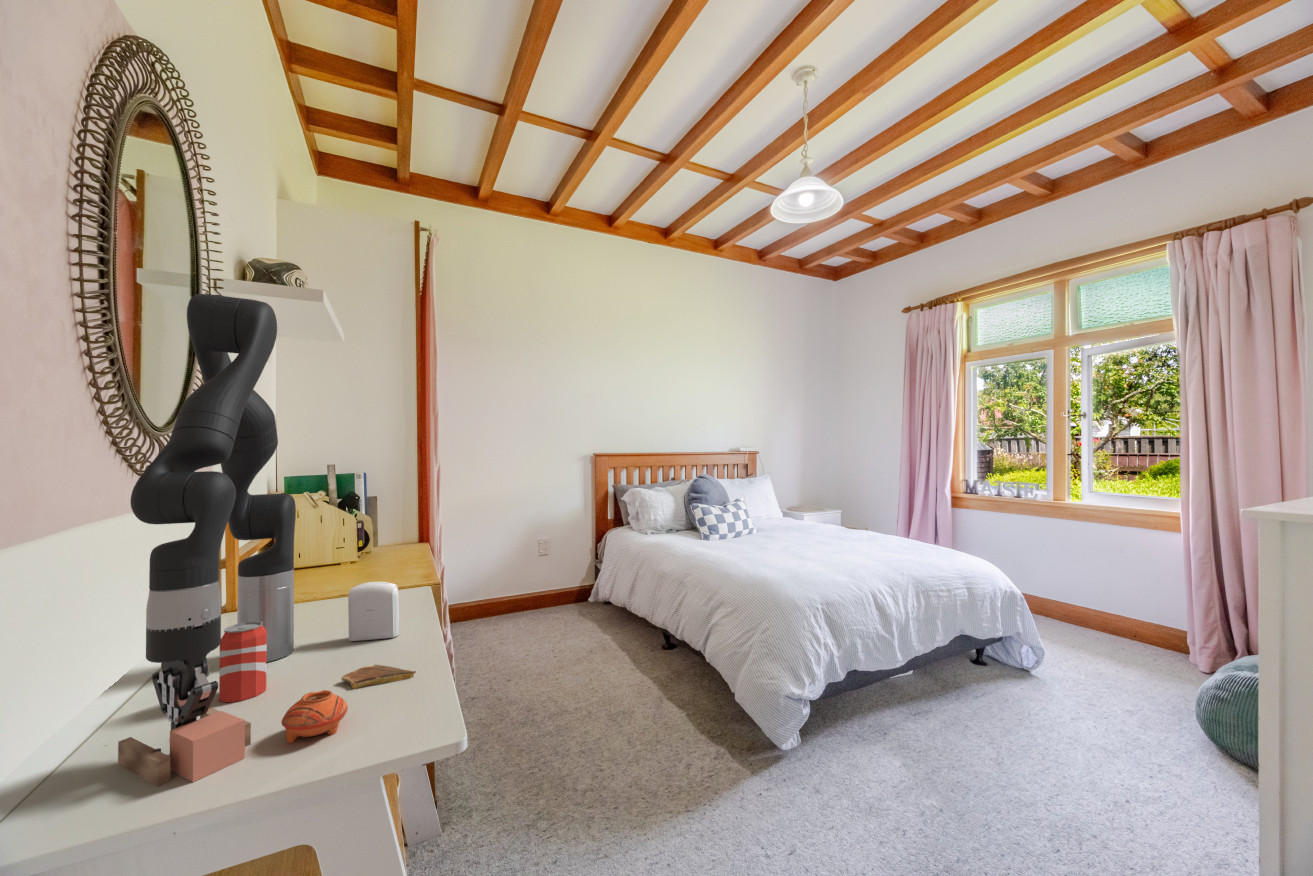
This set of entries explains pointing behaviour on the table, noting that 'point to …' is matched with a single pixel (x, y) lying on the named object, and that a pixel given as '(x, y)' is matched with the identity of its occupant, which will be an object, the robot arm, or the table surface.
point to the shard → (376, 675)
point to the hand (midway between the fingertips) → (183, 747)
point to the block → (207, 745)
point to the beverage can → (243, 662)
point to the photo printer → (373, 611)
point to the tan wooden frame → (154, 757)
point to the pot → (314, 715)
